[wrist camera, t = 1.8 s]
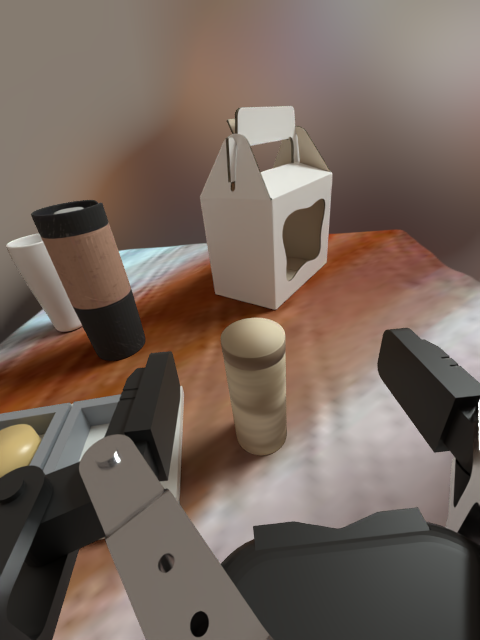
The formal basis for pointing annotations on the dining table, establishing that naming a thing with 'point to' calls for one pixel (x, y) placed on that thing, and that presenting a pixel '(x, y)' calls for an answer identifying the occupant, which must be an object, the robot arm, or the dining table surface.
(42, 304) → the white cylinder
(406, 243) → the dining table surface
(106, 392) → the dining table surface
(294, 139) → the gable box
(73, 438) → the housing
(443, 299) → the dining table surface
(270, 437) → the lidded cup
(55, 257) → the travel mug
